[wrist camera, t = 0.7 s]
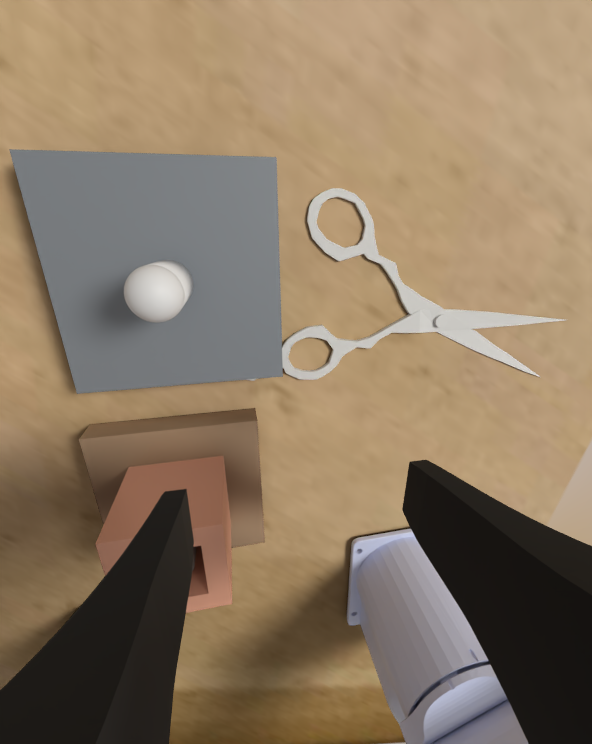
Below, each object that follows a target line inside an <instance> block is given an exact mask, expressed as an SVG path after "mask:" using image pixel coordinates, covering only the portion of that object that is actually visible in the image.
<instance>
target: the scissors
mask: <svg viewBox="0 0 592 744" xmlns="http://www.w3.org/2000/svg"><path fill="white" fill-rule="evenodd" d="M335 197H339V198H342V199H345V200H347V201H350V202H352V203H354V204H355V206H356V208H357V210H358V211H359V213H360V215H361V217H362V219H363V223H364V230H363V234H362V239H361V240H360V241H359V242H358V244H357V245H354V246H350V247H346V248H343V247H341V246H339V245H337V244H335V243H333V242H331V241H329V240H327V239H326V238H325V236H324V235H323V234H322V232H321V231H320V230H319V228H318V226H317V223H316V222H317V217H318V213H319V210H320V208H321V205H322V203H324V202H325V201H326V200H327V199H330V198H335ZM307 223H308V227H309V231H310V234H311V238H312V239H313V240H314V241H315V242H316V244H317V245H318V246H319V247H320V248H321V249H322V250H323V251H324V252H325V253H326V254H328V255H329V256H331V257H332V258H334V259H335V260H337V261H342V260H345V259H348V258H352V257H355V256H358V255H361V254H363V255H364V256H365V257H366V258H367V259H369V260H371V261H374V262H376V263H379V264H380V265H381V266H382V268H383V269H384V270H385V272H386V273H387V275H388V276H389V278H390V279H391V281H392V283H393V285H394V286H395V288H396V290H397V293H398V296H399V298H400V301H401V303H402V305H403V306H404V308H405V310H406V311H407V313H409V314H408V315H406V316H404V317H402V318H401V319H399V320H397V321H395V322H393V323H391V324H390V325H388V326H386V327H384V328H383V329H381V330H379V331H378V332H376V333H374V334H372V335H370V336H368V337H365V338H362V339H358V340H348V339H339V338H336V337H334V336H333V335H332V334H331V333H330V332H329V331H328V330H327V329H326V328H325V327H324V326H323V325H315V326H308V327H305V328H303V329H301V330H299V331H297V332H295V333H294V334H293V335H291V336H290V337H289V338H287V339H286V341H285V342H284V344H283V345H282V365H283V368H284V370H285V372H286V374H289V375H291V376H293V377H296V378H298V379H300V380H316V379H318V378H320V377H322V376H324V375H326V374H327V373H329V372H331V371H332V370H333V369H334V368H335V367H336V366H337V364H338V363H339V361H340V360H341V358H342V356H344V355H345V354H347V353H348V352H350V351H351V350H353V349H355V348H356V347H361V348H371V347H372V346H373V345H374V344H375V343H376V342H377V341H378V340H379V339H381V338H383V337H385V336H387V335H388V334H390V333H424V332H438V333H440V334H442V335H444V336H446V337H448V338H450V339H452V340H454V341H456V342H458V343H460V344H462V345H464V346H466V347H468V348H470V349H472V350H475V351H477V352H479V353H481V354H484V355H486V356H488V357H491V358H493V359H496V360H498V361H501V362H503V363H506V364H508V365H510V366H513V367H515V368H517V369H520V370H522V371H524V372H527V373H530V374H533V375H536V376H539V375H537V374H536V373H534V372H533V371H531V370H530V369H529V368H527V367H526V366H524V365H523V364H522V363H520V362H519V361H517V360H516V359H515V358H513V357H512V356H510V355H509V354H508V353H506V352H505V351H503V350H501V349H500V348H498V347H497V346H495V345H494V344H492V343H491V342H490V341H488V340H487V339H486V338H484V337H483V336H482V335H480V334H479V333H478V332H476V331H474V330H472V329H477V328H490V327H502V326H513V325H523V324H533V323H544V322H554V321H564V320H563V319H553V318H544V317H534V316H525V315H516V314H506V313H497V312H485V311H471V310H456V309H443V308H441V307H440V306H438V305H437V304H435V303H433V302H431V301H429V300H428V299H426V298H424V297H422V296H420V295H419V294H418V293H416V292H415V291H414V290H412V289H411V288H409V287H408V286H406V285H404V284H403V282H402V281H401V279H400V277H399V276H398V271H397V265H396V263H394V262H392V261H390V260H388V259H386V258H384V257H382V256H380V255H379V254H378V250H377V246H376V241H375V236H374V224H373V220H372V217H371V215H370V213H369V211H368V209H367V207H366V206H365V204H364V202H363V201H362V200H361V199H360V198H359V197H358V196H357V195H356V194H354V193H352V192H349V191H346V190H344V189H335V188H332V189H329V190H327V191H325V192H322V193H320V194H319V195H318V196H316V197H315V198H314V199H313V200H312V202H311V204H310V206H309V209H308V216H307ZM307 337H314V338H320V339H323V340H326V341H327V342H328V343H329V345H330V346H331V347H332V352H331V355H330V358H329V361H328V362H327V363H326V364H325V365H323V366H322V367H320V368H318V369H316V370H311V371H309V370H301V369H297V368H294V367H293V366H292V364H291V363H290V361H289V358H288V355H289V352H290V349H291V347H292V345H293V344H294V343H295V342H297V341H299V340H301V339H303V338H307ZM539 377H540V376H539ZM247 380H252V381H254V380H256V379H247Z"/></svg>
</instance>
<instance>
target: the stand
mask: <svg viewBox="0 0 592 744" xmlns="http://www.w3.org/2000/svg"><path fill="white" fill-rule="evenodd" d="M79 442H80V446H81V449H82V453H83V456H84V459H85V463H86V466H87V470H88V473H89V477H90V480H91V484H92V487H93V490H94V494H95V497H96V501H97V504H98V508H99V511H100V514H101V518H102V521H103V525H104V523H105V521H106V518H107V516H108V514H109V511H110V509H111V507H112V504H113V502H114V500H115V498H116V495H117V493H118V491H119V488H120V486H121V484H122V481H123V479H124V477H125V474H126V472H127V470H128V468H129V467H134V466H142V465H150V464H158V463H167V462H175V461H183V460H191V459H200V458H208V457H216V456H224V464H225V473H226V483H227V492H228V501H229V510H230V519H231V548H234V547H240V546H246V545H252V544H258V543H264V542H265V537H264V521H263V505H262V489H261V473H260V458H259V442H258V426H257V417H256V411H255V408H252V409H242V410H232V411H222V412H212V413H202V414H192V415H182V416H172V417H162V418H152V419H142V420H132V421H122V422H112V423H101V424H91V425H89V426H88V428H87V429H86V430H85V432H84V433H83V434H82V436H81V437H80V438H79ZM195 556H196V546H195V547H193V564H192V571H193V569H194V566H195Z"/></svg>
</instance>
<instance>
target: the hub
mask: <svg viewBox="0 0 592 744" xmlns="http://www.w3.org/2000/svg"><path fill="white" fill-rule="evenodd" d="M9 150H10V153H11V157H12V161H13V164H14V168H15V172H16V175H17V179H18V182H19V186H20V190H21V193H22V197H23V200H24V204H25V208H26V211H27V215H28V218H29V222H30V226H31V229H32V233H33V236H34V240H35V244H36V247H37V251H38V255H39V258H40V262H41V265H42V269H43V273H44V276H45V280H46V283H47V287H48V291H49V294H50V298H51V301H52V305H53V309H54V312H55V316H56V319H57V323H58V327H59V330H60V334H61V338H62V341H63V345H64V348H65V352H66V356H67V359H68V363H69V366H70V370H71V374H72V377H73V381H74V384H75V388H76V392H77V394H79V393H91V392H103V391H115V390H127V389H139V388H151V387H162V386H174V385H186V384H198V383H210V382H222V381H234V380H245V379H257V378H269V377H281V376H283V365H282V331H281V297H280V263H279V229H278V194H277V160H276V157H250V156H216V155H182V154H148V153H114V152H80V151H46V150H12V149H9Z"/></svg>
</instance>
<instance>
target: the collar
mask: <svg viewBox="0 0 592 744" xmlns="http://www.w3.org/2000/svg"><path fill="white" fill-rule="evenodd" d="M181 489H187V495H188V503H189V510H190V517H191V524H192V531H193V538H194V547H195V546H196V556H195V566H194V569H193V571H192V578H191V584H190V590H189V596H188V602H187V608H186V613H188V612H193V611H198V610H203V609H208V608H213V607H218V606H223V605H228V604H232V556H231V519H230V510H229V501H228V492H227V483H226V473H225V464H224V456H216V457H208V458H200V459H191V460H183V461H175V462H167V463H158V464H150V465H142V466H134V467H129V468H128V470H127V472H126V474H125V477H124V479H123V481H122V484H121V486H120V488H119V491H118V493H117V495H116V498H115V500H114V502H113V504H112V507H111V509H110V511H109V514H108V516H107V518H106V521H105V523H104V525H103V528H102V530H101V532H100V534H99V537H98V539H97V541H96V548H97V551H98V554H99V557H100V561H101V564H102V567H103V570H104V573H105V576H106V574H107V573H108V572H109V571H110V569H111V568H112V567H113V565H114V564H115V563H116V562H117V560H118V559H119V558H120V556H121V555H122V554H123V552H124V551H125V549H126V548H127V547H128V545H129V544H130V542H131V541H132V540H133V538H134V537H135V535H136V534H137V533H138V531H139V530H140V528H141V527H142V525H143V524H144V522H145V521H146V519H147V518H148V516H149V515H150V513H151V511H152V510H153V508H154V507H155V505H156V503H157V502H158V500H159V499H160V497H161V495H162V494H163V493H164V492H165V491H173V490H181Z"/></svg>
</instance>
